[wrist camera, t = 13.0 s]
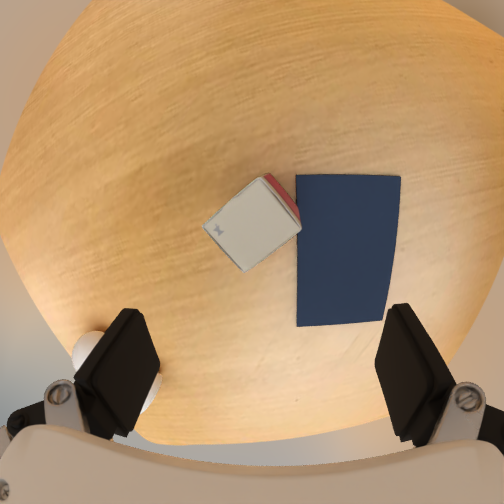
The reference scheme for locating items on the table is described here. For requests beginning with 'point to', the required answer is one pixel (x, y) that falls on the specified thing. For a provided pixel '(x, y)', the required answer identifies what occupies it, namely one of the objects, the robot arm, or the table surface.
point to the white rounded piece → (87, 345)
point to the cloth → (345, 246)
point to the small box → (254, 222)
